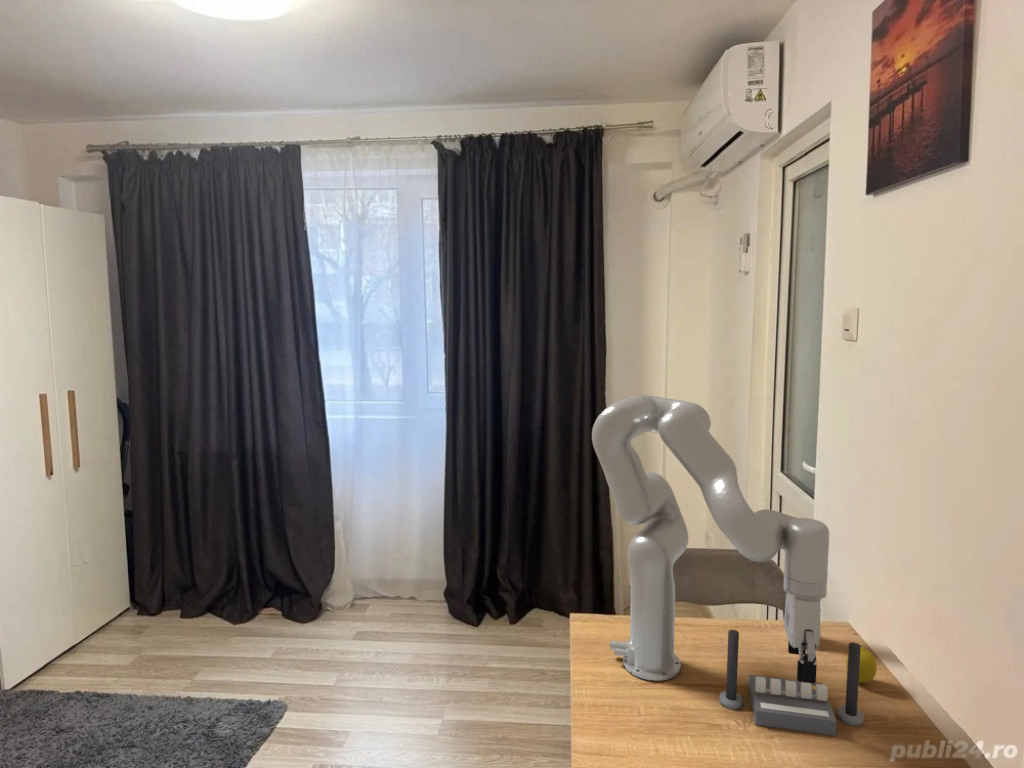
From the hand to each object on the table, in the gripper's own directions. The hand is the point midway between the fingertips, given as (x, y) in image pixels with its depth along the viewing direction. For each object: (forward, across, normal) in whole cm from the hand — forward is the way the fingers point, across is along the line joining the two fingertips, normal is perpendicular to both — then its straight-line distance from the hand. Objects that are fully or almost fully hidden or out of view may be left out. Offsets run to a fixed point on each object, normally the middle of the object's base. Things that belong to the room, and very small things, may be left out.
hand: (801, 667), depth 125 cm
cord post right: (+10, 0, +9) cm, 13 cm away
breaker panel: (+10, 0, -2) cm, 10 cm away
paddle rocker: (+6, 0, -2) cm, 6 cm away
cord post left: (+9, 0, -13) cm, 16 cm away
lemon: (+10, -13, +14) cm, 22 cm away
